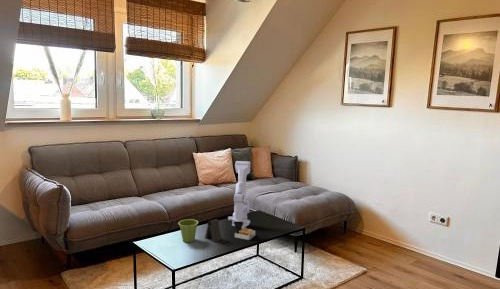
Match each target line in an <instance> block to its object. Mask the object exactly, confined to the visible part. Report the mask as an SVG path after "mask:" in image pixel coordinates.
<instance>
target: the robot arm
mask: <svg viewBox="0 0 500 289" xmlns="http://www.w3.org/2000/svg"><path fill="white" fill-rule="evenodd" d="M234 168H235V172H236V174H238V176H237V180H238V181H237V183H236V184H235V192H234V195H233V202H234V203H233V205H234V206H233V211H234V212H233V213H232V216H227V220H228V221H232V222H231V226H232V227H235V229H236V233H239V230H240V229H242V228H247V226H249V225H250V224H251V219H248V214H249V212H250V201H249V200H248V199H247V198H246V191H247V176H248V174H250V172H251V161H248V160H246V161H245V160H243V161H242V160H236V161H235V164H234Z"/></svg>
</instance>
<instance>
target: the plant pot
mask: <svg viewBox="0 0 500 289" xmlns="http://www.w3.org/2000/svg"><path fill="white" fill-rule="evenodd" d="M198 224H199V221H198V220H197V219H192V218H191V219H189V218H188V219H182V220H180V221H179V222H178V225H179V228H180V233H181V234H180V235H181V239H182V242H184V243H185V242H186V243H192V242H194V241H195V240H196V233H197V227H198Z"/></svg>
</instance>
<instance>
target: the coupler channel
mask: <svg viewBox="0 0 500 289" xmlns="http://www.w3.org/2000/svg"><path fill="white" fill-rule="evenodd" d="M255 236H256V230H253V231H252V232H251V233H250V234H248V235H245V234H240V233H237V232H234V238H236V239H242V240H247V241H250V240H252V239H253V238H254V237H255Z"/></svg>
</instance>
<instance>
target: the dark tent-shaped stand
mask: <svg viewBox="0 0 500 289" xmlns="http://www.w3.org/2000/svg"><path fill="white" fill-rule="evenodd" d="M219 223H220V221H219V219H217V218H216V219H215V218H214V219H212V220H208V222H207V226H206V227H207V228H206V231H205V235H204V239H205V240H208V241H211V242H212V243H216V242H218V241H221V240H222V234H221V230H220V225H219Z"/></svg>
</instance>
